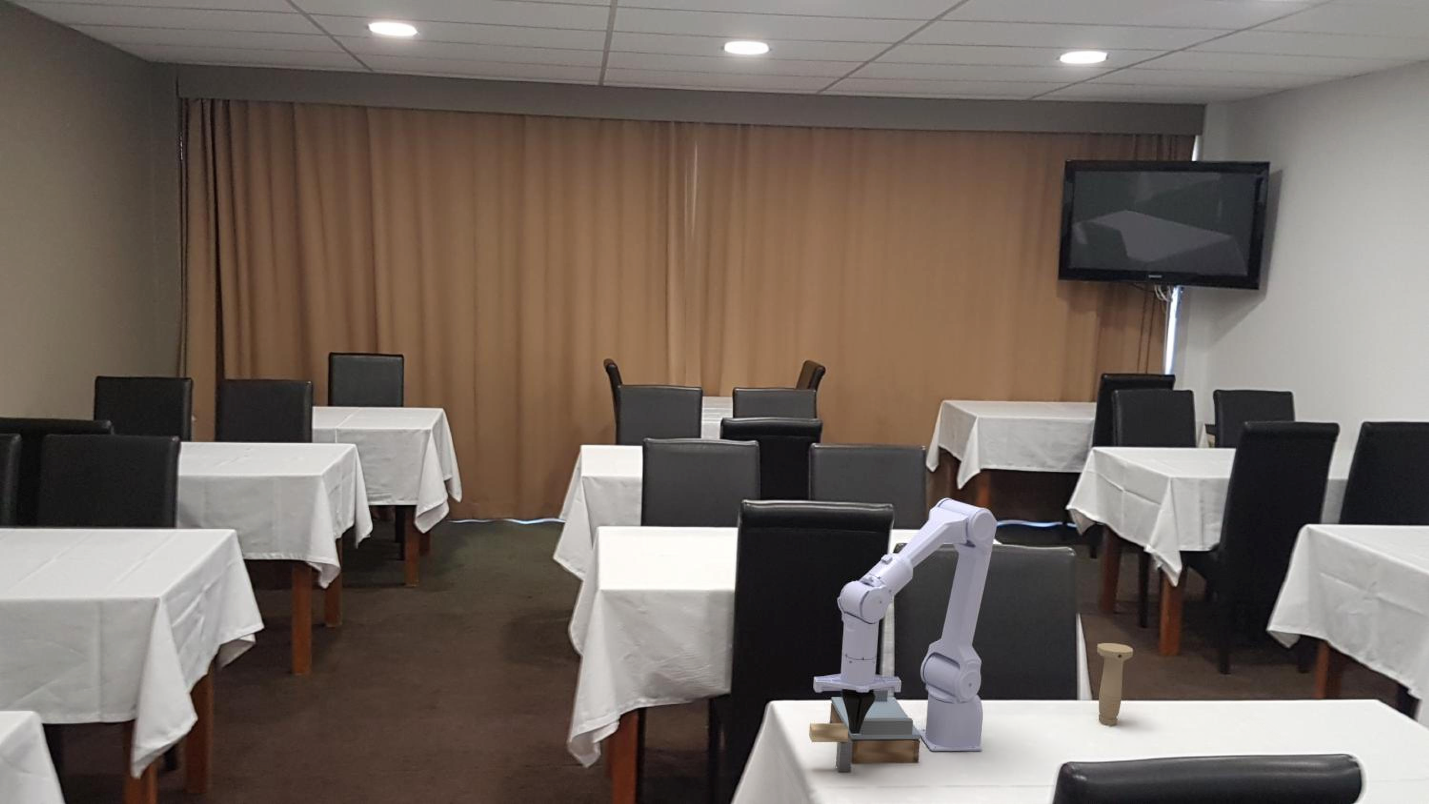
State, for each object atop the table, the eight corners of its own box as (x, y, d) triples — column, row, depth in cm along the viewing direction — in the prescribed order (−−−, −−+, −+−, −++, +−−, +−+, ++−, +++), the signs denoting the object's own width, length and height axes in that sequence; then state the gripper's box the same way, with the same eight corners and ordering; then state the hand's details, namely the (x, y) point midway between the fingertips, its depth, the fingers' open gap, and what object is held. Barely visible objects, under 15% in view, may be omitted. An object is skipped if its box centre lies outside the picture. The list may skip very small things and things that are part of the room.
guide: (847, 765, 184) (849, 736, 183) (850, 772, 182) (852, 743, 181) (835, 765, 184) (837, 736, 183) (838, 772, 181) (840, 743, 181)
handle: (1129, 728, 205) (1137, 652, 203) (1095, 727, 205) (1103, 651, 203) (1119, 718, 210) (1126, 643, 208) (1086, 716, 210) (1093, 642, 208)
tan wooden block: (843, 735, 183) (844, 723, 183) (847, 741, 181) (848, 729, 181) (809, 735, 182) (809, 723, 182) (812, 742, 180) (812, 729, 180)
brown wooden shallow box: (892, 723, 202) (894, 702, 202) (918, 762, 186) (919, 740, 186) (829, 723, 201) (831, 702, 200) (850, 763, 185) (851, 740, 185)
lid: (894, 701, 202) (895, 679, 201) (920, 738, 186) (921, 715, 185) (831, 701, 200) (832, 678, 200) (852, 739, 184) (853, 715, 184)
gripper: (821, 662, 175) (816, 742, 177) (908, 662, 177) (902, 741, 179) (812, 647, 182) (808, 723, 184) (896, 647, 184) (891, 723, 186)
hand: (854, 731), depth 182 cm, fingers closed
